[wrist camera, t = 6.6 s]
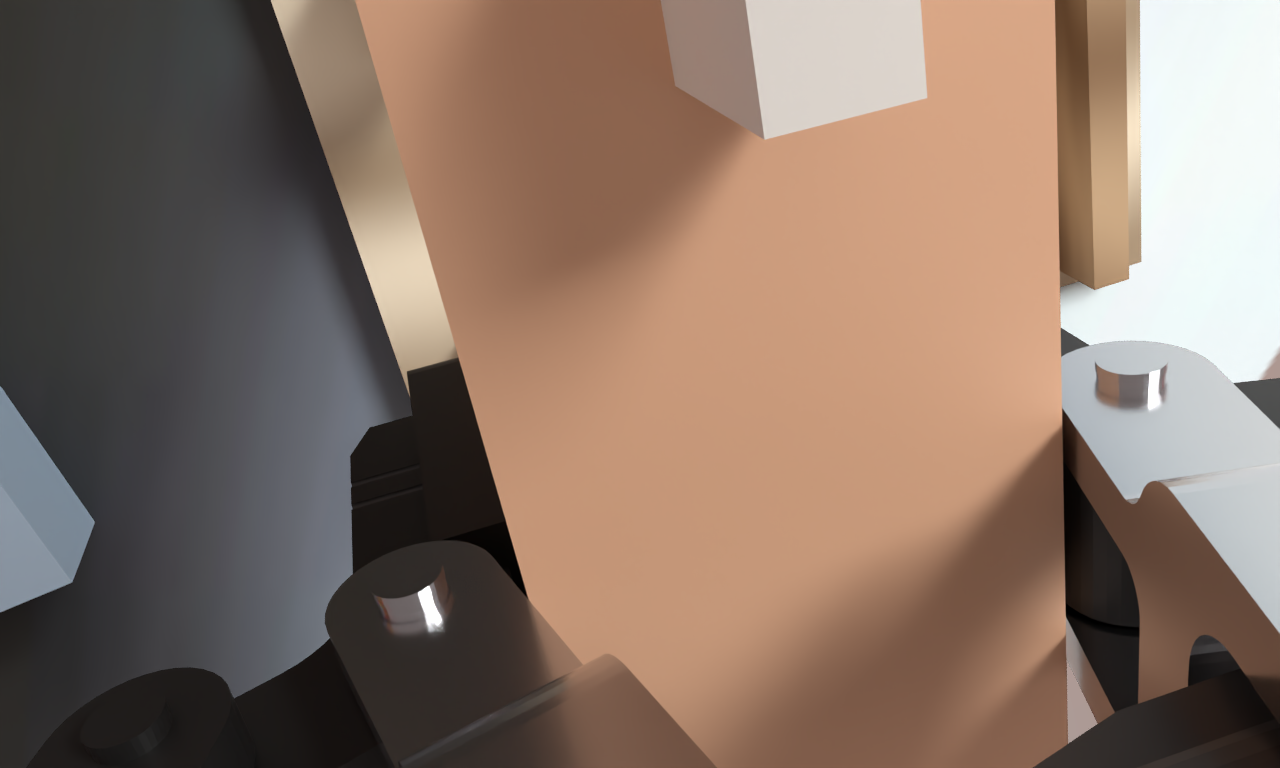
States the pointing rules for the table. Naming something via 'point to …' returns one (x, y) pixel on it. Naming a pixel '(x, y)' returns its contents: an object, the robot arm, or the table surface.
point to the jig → (396, 250)
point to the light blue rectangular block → (35, 516)
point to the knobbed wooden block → (764, 351)
